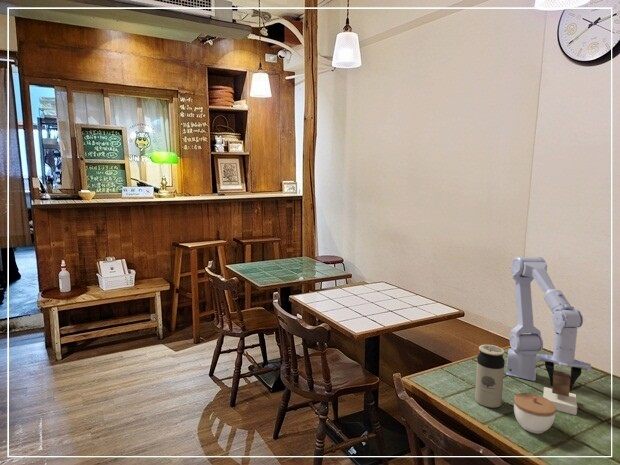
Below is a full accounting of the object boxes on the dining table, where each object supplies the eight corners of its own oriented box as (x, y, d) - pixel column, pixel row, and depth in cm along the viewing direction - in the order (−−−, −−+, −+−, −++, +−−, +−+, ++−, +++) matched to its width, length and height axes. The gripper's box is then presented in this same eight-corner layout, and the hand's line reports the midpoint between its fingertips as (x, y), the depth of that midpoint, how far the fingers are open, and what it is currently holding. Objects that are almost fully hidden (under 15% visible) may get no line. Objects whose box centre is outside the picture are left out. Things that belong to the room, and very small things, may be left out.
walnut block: (552, 392, 130) (553, 375, 129) (552, 387, 133) (553, 369, 133) (568, 396, 127) (570, 378, 127) (568, 390, 131) (569, 373, 130)
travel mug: (480, 392, 137) (484, 342, 135) (505, 401, 132) (509, 349, 129) (470, 401, 132) (474, 348, 129) (495, 411, 126) (499, 356, 124)
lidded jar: (553, 443, 111) (556, 411, 110) (510, 430, 117) (512, 400, 115) (554, 423, 120) (556, 394, 119) (513, 412, 126) (516, 384, 124)
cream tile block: (542, 407, 129) (543, 399, 129) (543, 395, 137) (543, 386, 136) (576, 416, 125) (577, 407, 124) (574, 402, 132) (575, 394, 132)
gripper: (538, 345, 128) (534, 386, 130) (593, 356, 121) (589, 398, 123) (538, 338, 134) (535, 377, 136) (591, 347, 127) (587, 388, 129)
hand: (560, 386), depth 130 cm, fingers closed on walnut block, 4 cm apart
